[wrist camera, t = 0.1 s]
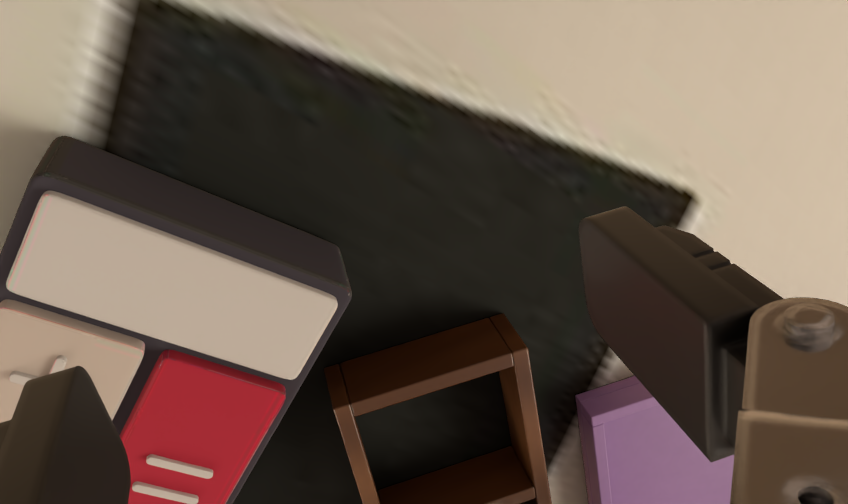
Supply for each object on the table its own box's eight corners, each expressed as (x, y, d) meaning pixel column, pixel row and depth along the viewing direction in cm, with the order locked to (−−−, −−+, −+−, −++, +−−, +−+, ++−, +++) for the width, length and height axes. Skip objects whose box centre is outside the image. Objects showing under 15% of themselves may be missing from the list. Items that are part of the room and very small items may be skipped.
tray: (574, 394, 37) (591, 417, 35) (799, 321, 38) (825, 339, 37) (599, 590, 43) (613, 617, 42) (790, 520, 45) (811, 543, 43)
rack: (323, 367, 33) (332, 409, 30) (503, 311, 34) (528, 347, 31) (397, 608, 40) (411, 658, 37) (544, 555, 41) (567, 601, 38)
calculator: (-116, 540, 27) (27, 176, 22) (-74, 455, 30) (56, 129, 26) (188, 595, 31) (360, 302, 27) (193, 515, 35) (344, 246, 30)
